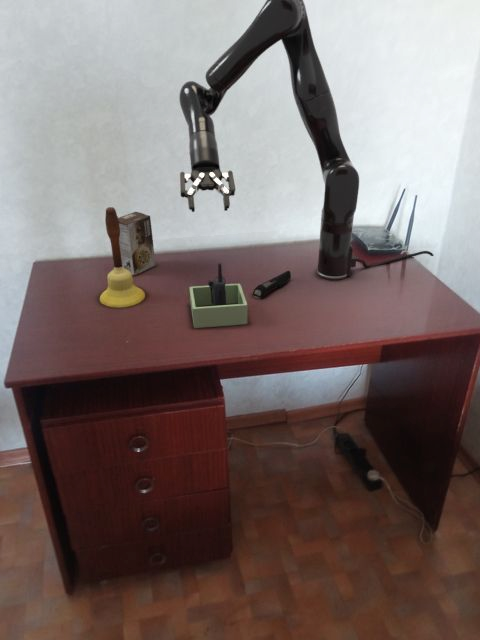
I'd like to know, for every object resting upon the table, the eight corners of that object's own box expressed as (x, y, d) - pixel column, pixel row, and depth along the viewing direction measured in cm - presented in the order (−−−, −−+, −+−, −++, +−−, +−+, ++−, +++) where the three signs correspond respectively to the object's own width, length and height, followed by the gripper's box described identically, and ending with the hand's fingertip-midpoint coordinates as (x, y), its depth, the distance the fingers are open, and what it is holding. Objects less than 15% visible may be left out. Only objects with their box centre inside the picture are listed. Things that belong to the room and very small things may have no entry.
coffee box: (141, 261, 173) (136, 210, 165) (156, 266, 170) (151, 215, 161) (119, 270, 167) (112, 218, 158) (134, 275, 164) (127, 223, 155)
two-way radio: (226, 319, 142) (225, 265, 134) (209, 319, 142) (207, 265, 134) (226, 309, 147) (224, 256, 139) (209, 309, 147) (207, 257, 138)
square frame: (240, 301, 151) (240, 283, 148) (247, 324, 140) (247, 304, 137) (190, 305, 149) (189, 286, 146) (193, 328, 138) (192, 308, 135)
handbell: (154, 293, 154) (145, 206, 140) (123, 311, 145) (110, 219, 132) (121, 283, 159) (109, 198, 146) (89, 300, 150) (74, 210, 137)
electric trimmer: (294, 281, 162) (294, 271, 161) (262, 299, 152) (262, 289, 150) (283, 278, 164) (284, 268, 163) (251, 295, 154) (251, 285, 152)
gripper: (176, 146, 141) (182, 204, 138) (231, 145, 143) (238, 201, 140) (177, 162, 148) (182, 217, 145) (229, 161, 151) (235, 215, 147)
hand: (209, 209), depth 142 cm, fingers open, 8 cm apart
